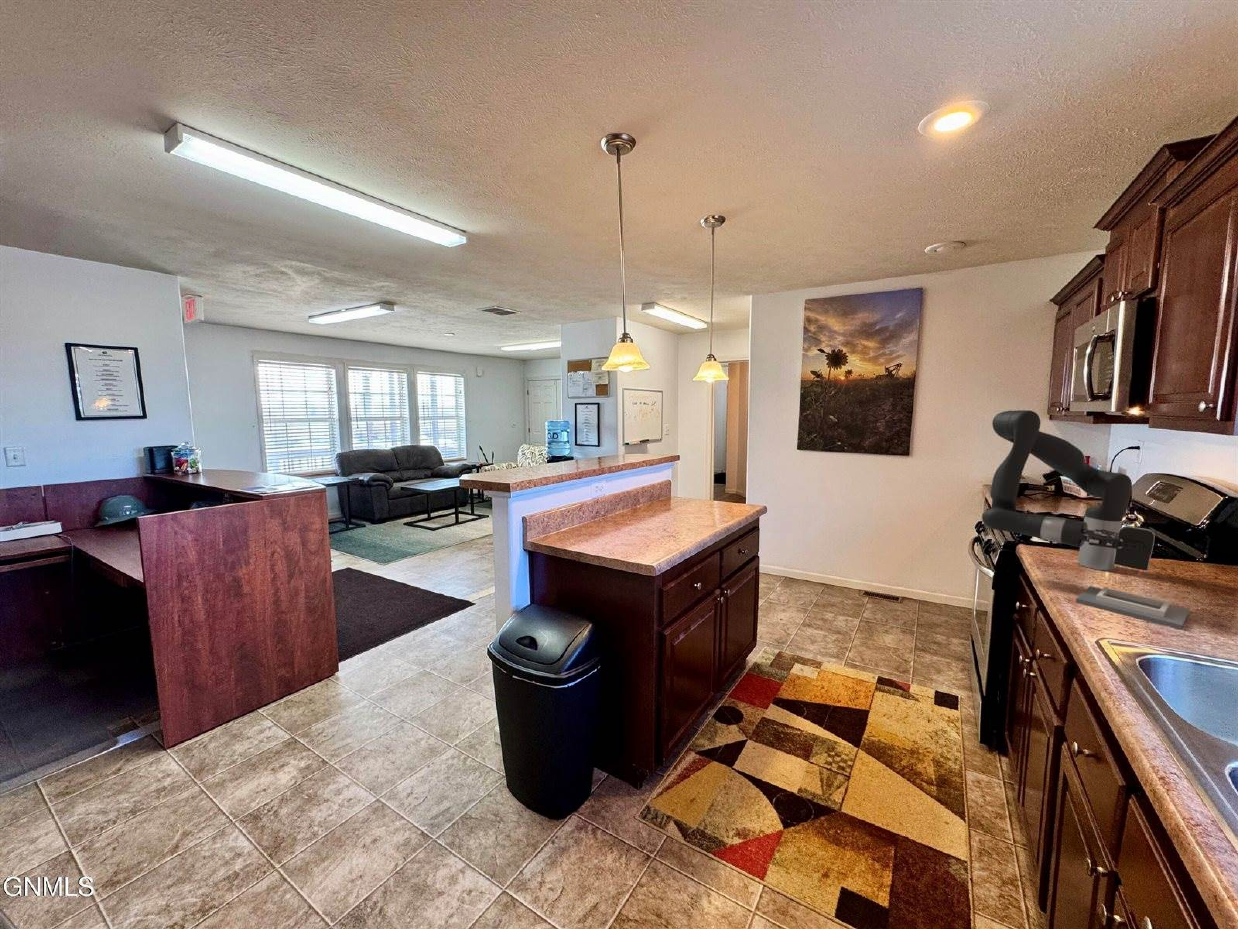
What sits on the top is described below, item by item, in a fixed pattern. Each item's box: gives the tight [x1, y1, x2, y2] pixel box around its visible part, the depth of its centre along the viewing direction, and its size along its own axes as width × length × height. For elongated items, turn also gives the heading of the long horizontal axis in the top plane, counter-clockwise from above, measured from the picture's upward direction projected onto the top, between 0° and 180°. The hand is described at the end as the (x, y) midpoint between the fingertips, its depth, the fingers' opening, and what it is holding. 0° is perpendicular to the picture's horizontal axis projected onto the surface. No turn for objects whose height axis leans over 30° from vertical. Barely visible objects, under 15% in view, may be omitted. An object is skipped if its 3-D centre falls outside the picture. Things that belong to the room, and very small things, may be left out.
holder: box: [1075, 585, 1191, 630], centre depth 136 cm, size 16×20×3 cm
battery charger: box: [1114, 525, 1156, 571], centre depth 136 cm, size 7×4×11 cm, turn 38°
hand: (1144, 546), depth 135 cm, fingers closed on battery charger, 4 cm apart
